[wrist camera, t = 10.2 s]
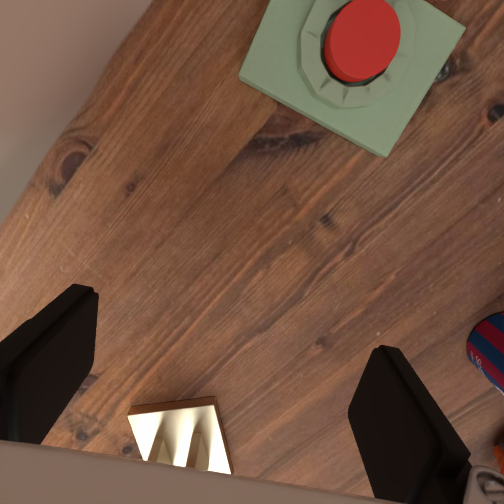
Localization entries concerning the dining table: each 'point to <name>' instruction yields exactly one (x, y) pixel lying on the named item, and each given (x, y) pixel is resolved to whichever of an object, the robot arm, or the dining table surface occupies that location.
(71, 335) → the robot arm
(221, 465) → the switch bracket
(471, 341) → the cup
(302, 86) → the switch box
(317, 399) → the dining table surface
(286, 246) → the dining table surface
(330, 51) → the button
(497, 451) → the pot
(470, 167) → the dining table surface
